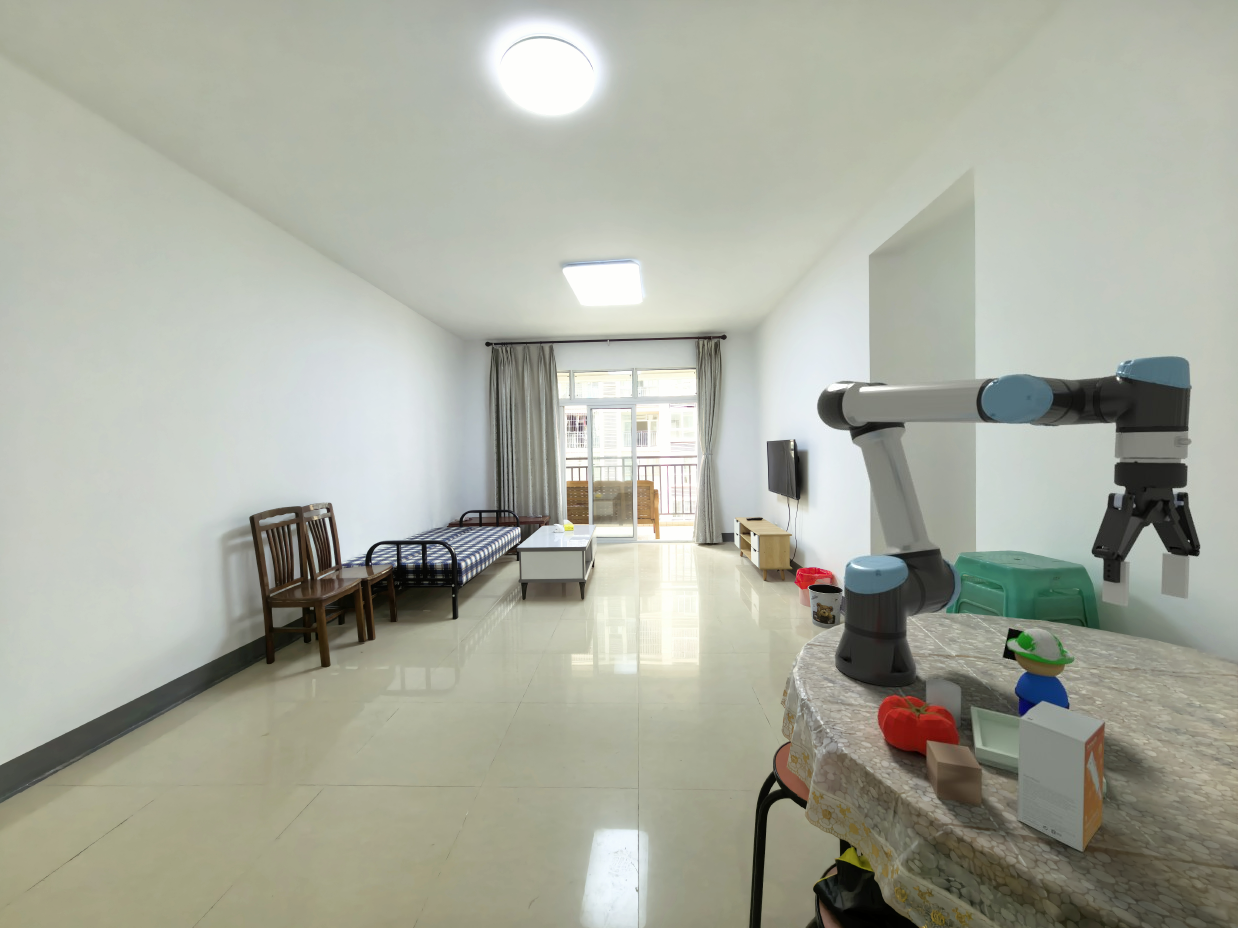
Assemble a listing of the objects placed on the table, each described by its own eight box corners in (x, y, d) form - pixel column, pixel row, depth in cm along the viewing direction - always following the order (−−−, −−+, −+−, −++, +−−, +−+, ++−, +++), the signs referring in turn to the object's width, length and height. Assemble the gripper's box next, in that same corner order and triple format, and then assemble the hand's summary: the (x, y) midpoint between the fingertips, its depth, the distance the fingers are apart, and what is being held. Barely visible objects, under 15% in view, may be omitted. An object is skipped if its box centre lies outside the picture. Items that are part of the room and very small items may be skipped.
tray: (975, 761, 73) (975, 746, 72) (970, 718, 84) (970, 705, 84) (1106, 797, 65) (1106, 781, 65) (1080, 744, 77) (1080, 731, 76)
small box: (1084, 854, 56) (1086, 742, 55) (1015, 819, 61) (1017, 717, 61) (1104, 824, 60) (1106, 720, 60) (1039, 794, 66) (1040, 698, 65)
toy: (1056, 705, 88) (1057, 623, 88) (1085, 733, 80) (1087, 642, 79) (997, 697, 91) (998, 618, 91) (1019, 723, 83) (1020, 635, 82)
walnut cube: (937, 798, 65) (937, 761, 65) (926, 774, 70) (926, 740, 70) (981, 806, 64) (981, 768, 63) (967, 781, 68) (967, 746, 68)
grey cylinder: (925, 722, 83) (925, 687, 83) (926, 709, 87) (926, 676, 87) (961, 731, 80) (961, 695, 80) (960, 717, 85) (960, 683, 84)
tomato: (961, 775, 70) (961, 730, 69) (874, 751, 75) (875, 709, 75) (957, 741, 78) (957, 700, 78) (879, 721, 84) (880, 683, 83)
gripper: (1125, 462, 67) (1120, 615, 68) (1237, 461, 74) (1232, 599, 74) (1062, 461, 74) (1059, 599, 75) (1170, 460, 81) (1165, 586, 82)
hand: (1145, 599), depth 75 cm, fingers open, 13 cm apart
